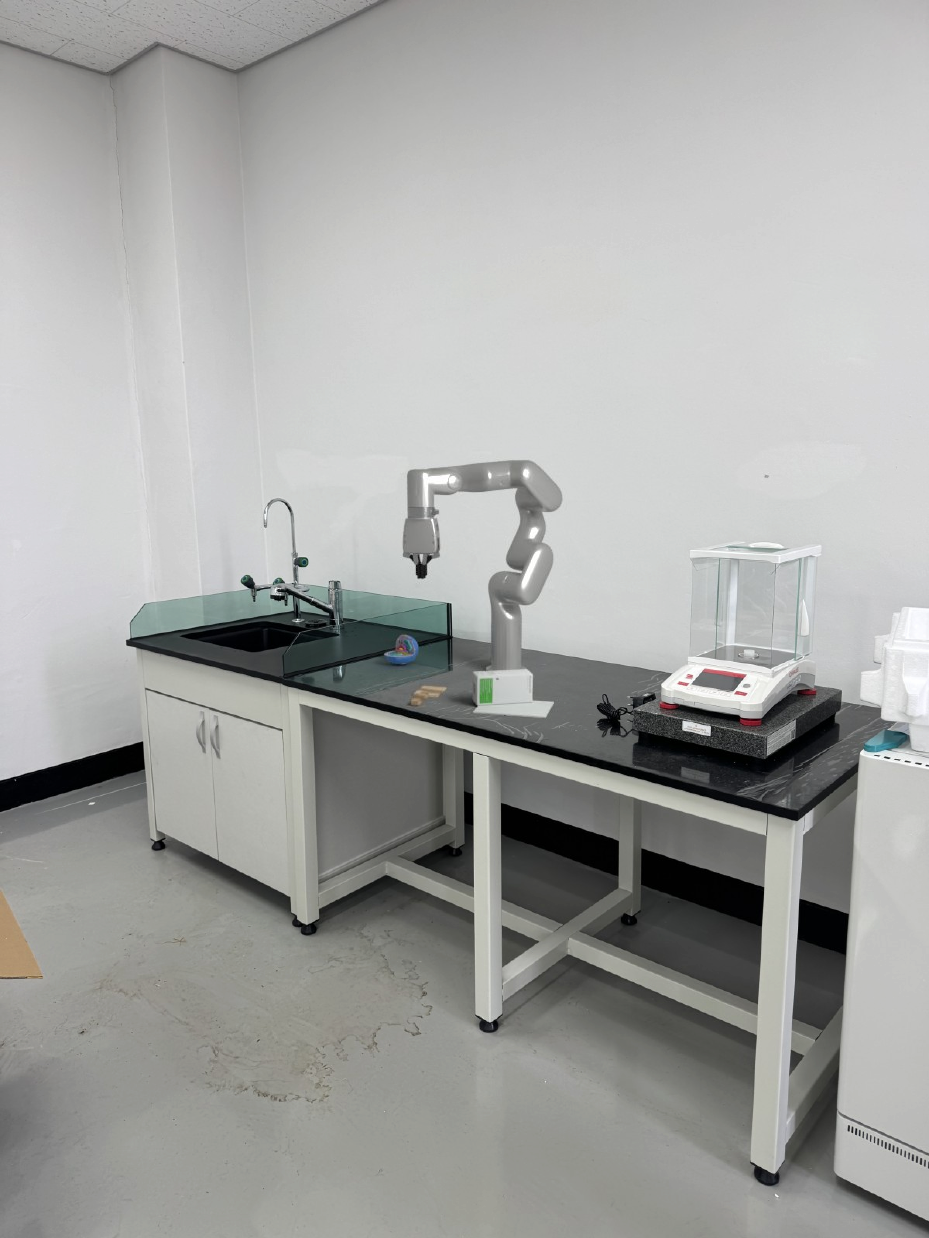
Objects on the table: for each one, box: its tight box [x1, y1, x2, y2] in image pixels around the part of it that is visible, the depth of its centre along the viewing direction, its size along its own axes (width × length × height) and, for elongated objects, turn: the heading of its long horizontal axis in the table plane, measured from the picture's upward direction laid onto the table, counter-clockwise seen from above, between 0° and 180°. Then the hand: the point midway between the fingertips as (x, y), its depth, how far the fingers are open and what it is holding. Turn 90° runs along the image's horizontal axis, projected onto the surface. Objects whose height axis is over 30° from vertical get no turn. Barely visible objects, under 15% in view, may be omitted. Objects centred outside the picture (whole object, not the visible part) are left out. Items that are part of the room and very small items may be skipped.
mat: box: [472, 699, 555, 719], centre depth 231 cm, size 15×19×1 cm
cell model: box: [383, 634, 420, 665], centre depth 282 cm, size 10×12×10 cm
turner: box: [410, 685, 448, 706], centre depth 243 cm, size 20×7×1 cm, turn 166°
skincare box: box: [472, 668, 534, 707], centre depth 236 cm, size 8×7×16 cm
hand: (421, 578), depth 248 cm, fingers closed
